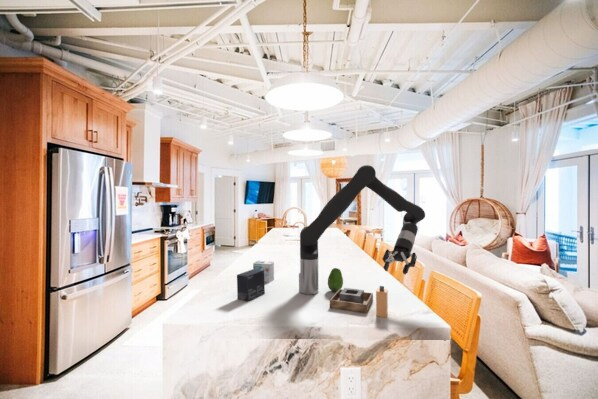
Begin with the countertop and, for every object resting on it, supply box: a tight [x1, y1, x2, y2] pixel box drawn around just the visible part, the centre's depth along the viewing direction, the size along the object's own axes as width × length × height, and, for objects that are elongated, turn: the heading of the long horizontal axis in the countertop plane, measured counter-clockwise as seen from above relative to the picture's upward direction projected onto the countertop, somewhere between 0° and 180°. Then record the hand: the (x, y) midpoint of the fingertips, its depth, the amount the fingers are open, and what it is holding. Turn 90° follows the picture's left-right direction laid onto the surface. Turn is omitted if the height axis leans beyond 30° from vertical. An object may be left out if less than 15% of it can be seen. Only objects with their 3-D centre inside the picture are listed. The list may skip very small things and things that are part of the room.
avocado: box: [327, 267, 344, 293], centre depth 150 cm, size 8×8×12 cm
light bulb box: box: [252, 260, 275, 284], centre depth 170 cm, size 11×7×11 cm, turn 73°
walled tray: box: [329, 287, 374, 314], centre depth 132 cm, size 16×16×6 cm
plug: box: [375, 285, 389, 318], centre depth 120 cm, size 4×4×12 cm
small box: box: [236, 268, 266, 302], centre depth 143 cm, size 13×7×12 cm, turn 149°
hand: (394, 271), depth 129 cm, fingers open, 8 cm apart
